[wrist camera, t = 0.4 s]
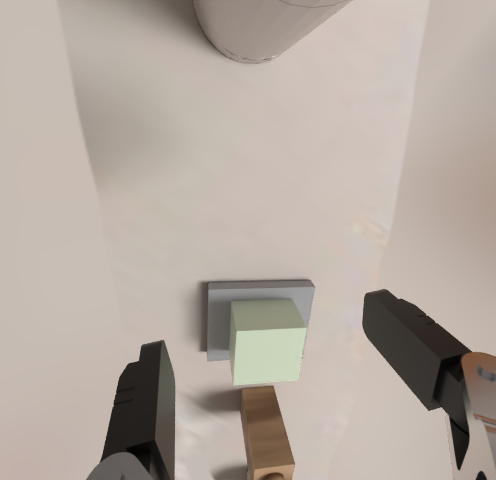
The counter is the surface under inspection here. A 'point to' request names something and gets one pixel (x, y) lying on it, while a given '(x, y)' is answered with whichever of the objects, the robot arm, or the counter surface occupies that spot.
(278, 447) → the walnut pillar block
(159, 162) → the counter surface
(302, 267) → the counter surface
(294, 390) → the counter surface
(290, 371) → the foundation
